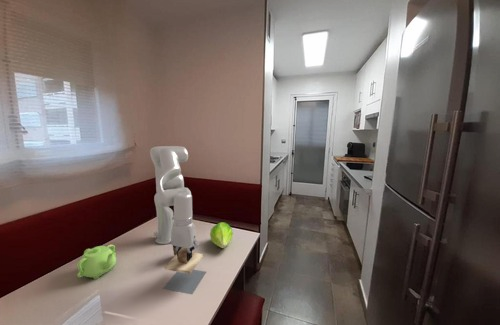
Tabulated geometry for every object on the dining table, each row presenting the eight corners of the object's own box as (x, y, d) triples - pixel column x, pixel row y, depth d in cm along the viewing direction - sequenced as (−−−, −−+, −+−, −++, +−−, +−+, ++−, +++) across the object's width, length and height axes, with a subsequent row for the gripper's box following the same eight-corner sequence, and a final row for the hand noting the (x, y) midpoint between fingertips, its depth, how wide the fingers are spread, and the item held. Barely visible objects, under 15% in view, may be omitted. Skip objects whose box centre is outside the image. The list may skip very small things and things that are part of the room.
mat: (162, 289, 85) (162, 288, 85) (180, 268, 98) (180, 267, 98) (192, 295, 82) (192, 294, 82) (206, 272, 95) (206, 271, 95)
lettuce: (209, 257, 108) (209, 236, 106) (210, 238, 127) (210, 220, 126) (234, 254, 110) (234, 234, 108) (232, 236, 130) (232, 219, 128)
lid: (164, 269, 85) (164, 256, 84) (180, 252, 96) (179, 241, 95) (190, 274, 82) (189, 260, 81) (202, 256, 94) (202, 244, 93)
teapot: (123, 259, 105) (122, 237, 103) (116, 277, 92) (113, 252, 90) (86, 266, 99) (84, 242, 98) (72, 286, 86) (69, 259, 85)
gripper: (161, 221, 84) (163, 260, 87) (197, 226, 81) (197, 267, 84) (171, 214, 91) (173, 250, 94) (205, 219, 88) (205, 256, 91)
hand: (184, 258), depth 89 cm, fingers closed on lid, 4 cm apart
